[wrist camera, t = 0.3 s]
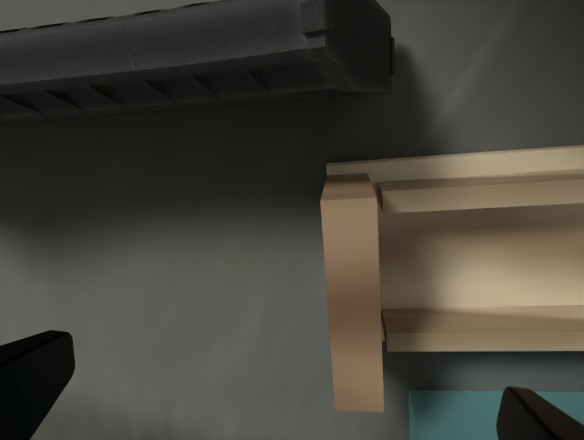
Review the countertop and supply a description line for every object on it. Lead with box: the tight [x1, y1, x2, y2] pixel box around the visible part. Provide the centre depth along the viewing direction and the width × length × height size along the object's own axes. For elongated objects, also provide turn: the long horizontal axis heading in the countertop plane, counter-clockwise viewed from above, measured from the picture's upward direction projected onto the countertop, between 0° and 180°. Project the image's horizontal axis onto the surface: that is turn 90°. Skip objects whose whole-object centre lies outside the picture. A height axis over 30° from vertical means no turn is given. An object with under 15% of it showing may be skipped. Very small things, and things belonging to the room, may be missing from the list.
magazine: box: [0, 0, 395, 124], centre depth 16 cm, size 17×3×30 cm
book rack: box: [320, 145, 584, 412], centre depth 17 cm, size 10×20×7 cm, turn 95°
